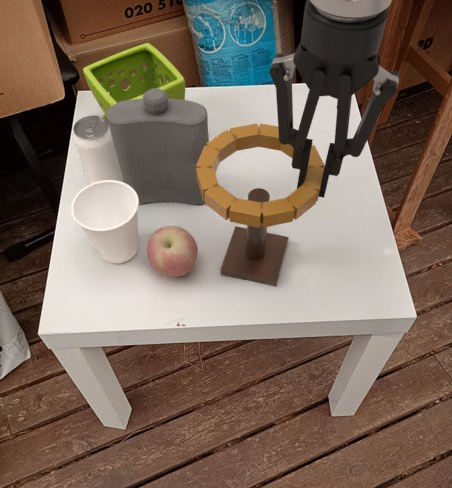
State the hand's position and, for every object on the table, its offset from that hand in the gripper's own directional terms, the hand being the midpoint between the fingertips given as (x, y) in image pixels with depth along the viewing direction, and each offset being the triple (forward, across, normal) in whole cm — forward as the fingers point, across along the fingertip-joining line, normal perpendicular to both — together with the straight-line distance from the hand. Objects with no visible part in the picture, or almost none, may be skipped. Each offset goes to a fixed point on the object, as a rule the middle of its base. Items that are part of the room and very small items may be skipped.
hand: (312, 187), depth 65 cm
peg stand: (+18, -7, 0) cm, 19 cm away
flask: (+18, -25, +10) cm, 32 cm away
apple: (+18, -19, -5) cm, 27 cm away
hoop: (0, -7, 0) cm, 7 cm away
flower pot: (+18, -35, +24) cm, 46 cm away
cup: (+18, -29, -4) cm, 34 cm away
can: (+18, -37, +10) cm, 42 cm away
